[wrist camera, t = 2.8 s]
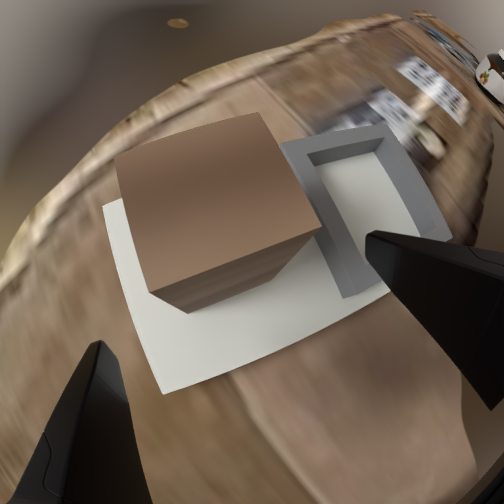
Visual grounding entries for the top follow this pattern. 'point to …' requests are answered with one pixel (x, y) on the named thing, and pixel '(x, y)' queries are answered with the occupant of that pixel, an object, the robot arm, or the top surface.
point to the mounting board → (298, 268)
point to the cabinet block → (213, 211)
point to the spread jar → (492, 77)
